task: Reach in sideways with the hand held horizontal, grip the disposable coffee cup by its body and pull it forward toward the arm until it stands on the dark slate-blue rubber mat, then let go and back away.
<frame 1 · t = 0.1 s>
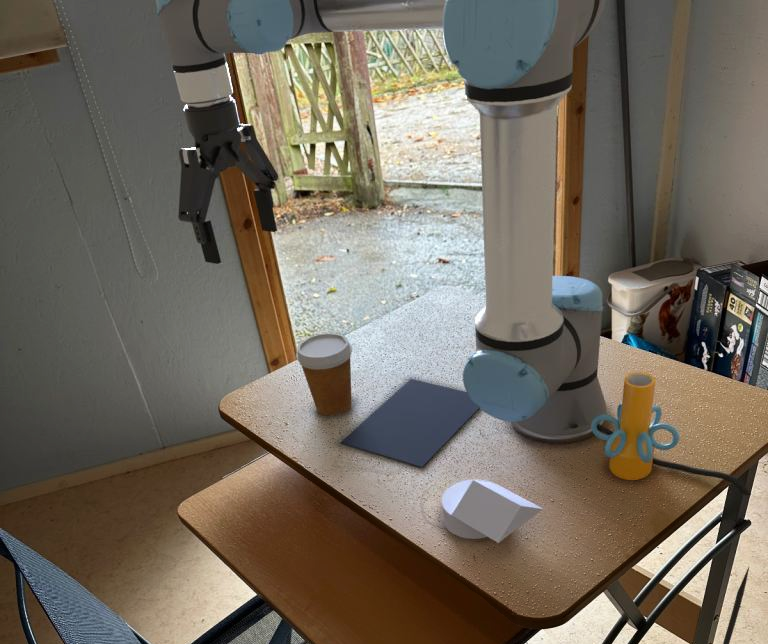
hand: (242, 246, 125), 28 cm above the table, tool pointing down, fingers open, 13 cm apart
wedge on round base: (485, 524, 108), on the table
mat: (416, 420, 130), on the table
yellow tube with rings: (629, 469, 114), on the table
disposable coffee cup: (334, 406, 137), on the table
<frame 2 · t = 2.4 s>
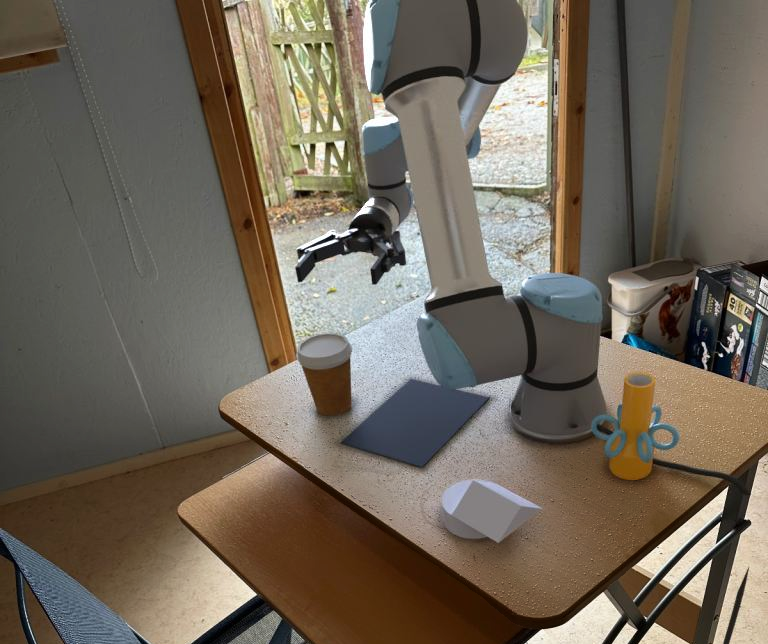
hand: (335, 275, 131), 20 cm above the table, tool horizontal, fingers open, 13 cm apart
nothing on the table moved.
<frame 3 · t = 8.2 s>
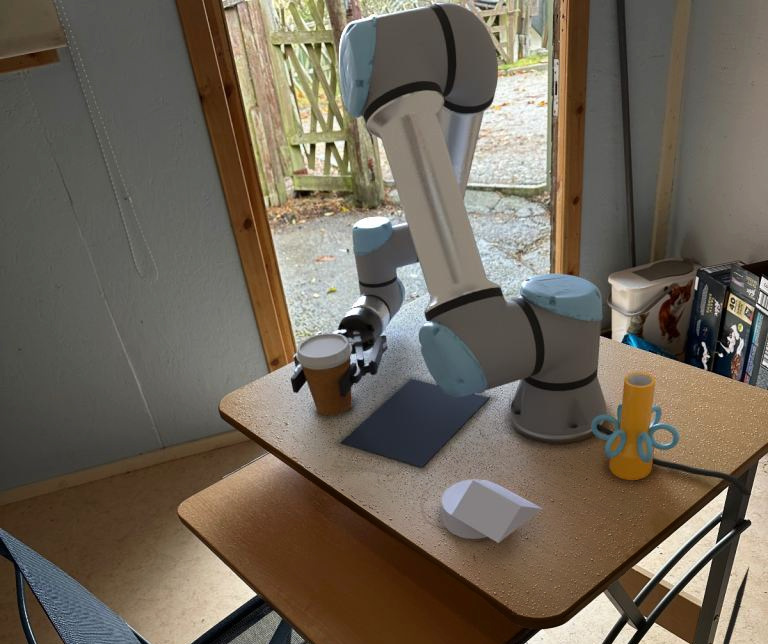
hand: (317, 387, 130), 7 cm above the table, tool horizontal, fingers closed on disposable coffee cup, 8 cm apart
disposable coffee cup: (334, 406, 137), on the table, touching gripper
everything else where it was.
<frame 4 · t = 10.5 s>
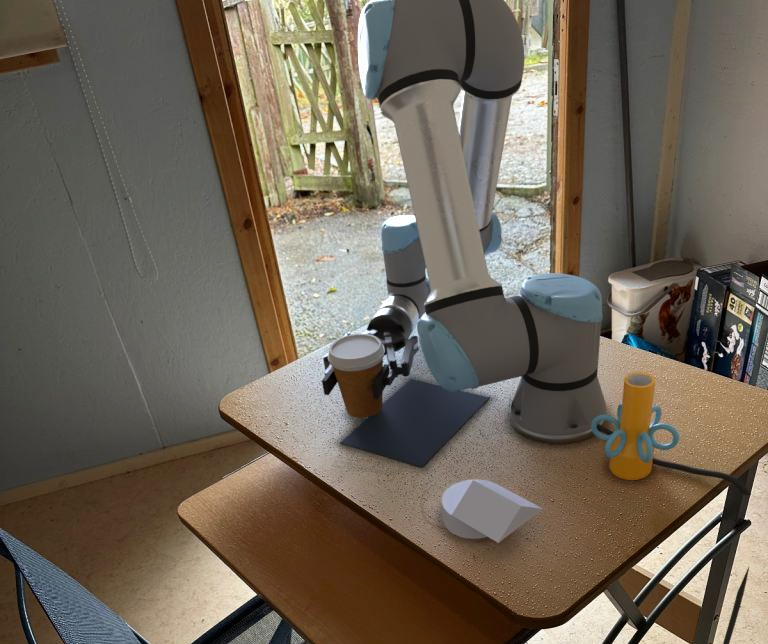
hand: (349, 389, 126), 7 cm above the table, tool horizontal, fingers closed on disposable coffee cup, 8 cm apart
disposable coffee cup: (364, 409, 134), on the table, touching gripper
everything else where it was.
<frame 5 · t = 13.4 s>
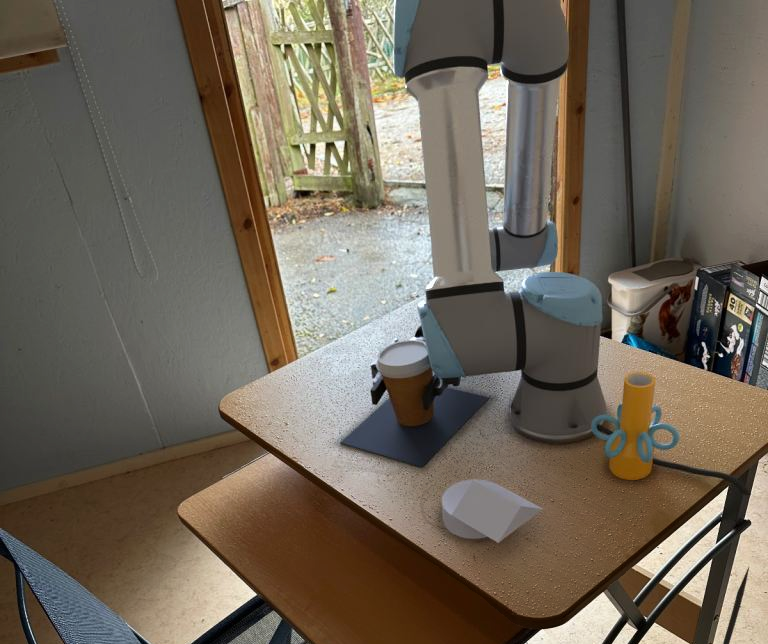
hand: (399, 400, 123), 7 cm above the table, tool horizontal, fingers closed on disposable coffee cup, 8 cm apart
disposable coffee cup: (415, 417, 131), resting on mat, touching arm, gripper
everything else where it was.
when the fingers open (7 cm above the table, at t = 13.5 s): disposable coffee cup moves 3 cm, resting on mat.
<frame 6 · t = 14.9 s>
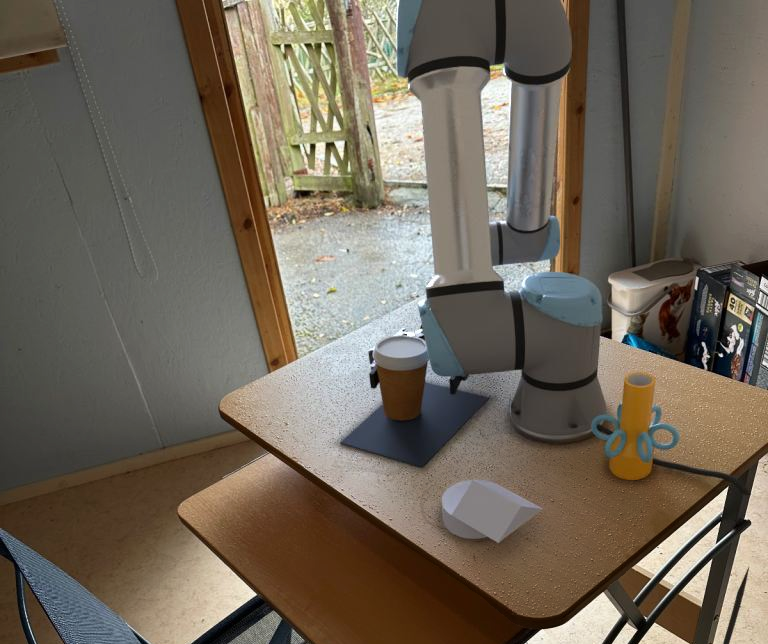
hand: (411, 384, 125), 7 cm above the table, tool horizontal, fingers open, 13 cm apart
disposable coffee cup: (402, 412, 132), resting on mat, touching gripper
everything else where it was.
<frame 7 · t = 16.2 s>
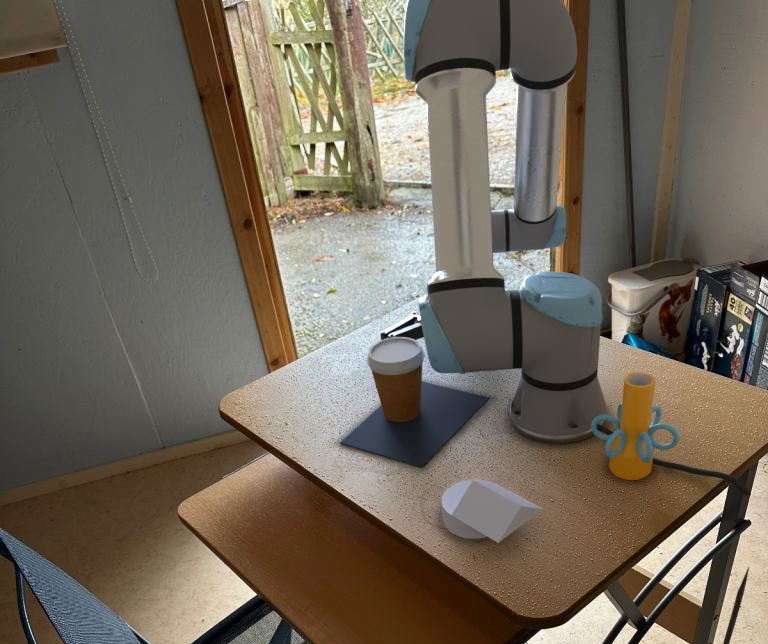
hand: (422, 364, 130), 7 cm above the table, tool horizontal, fingers open, 13 cm apart
disposable coffee cup: (402, 413, 133), resting on mat
everything else where it was.
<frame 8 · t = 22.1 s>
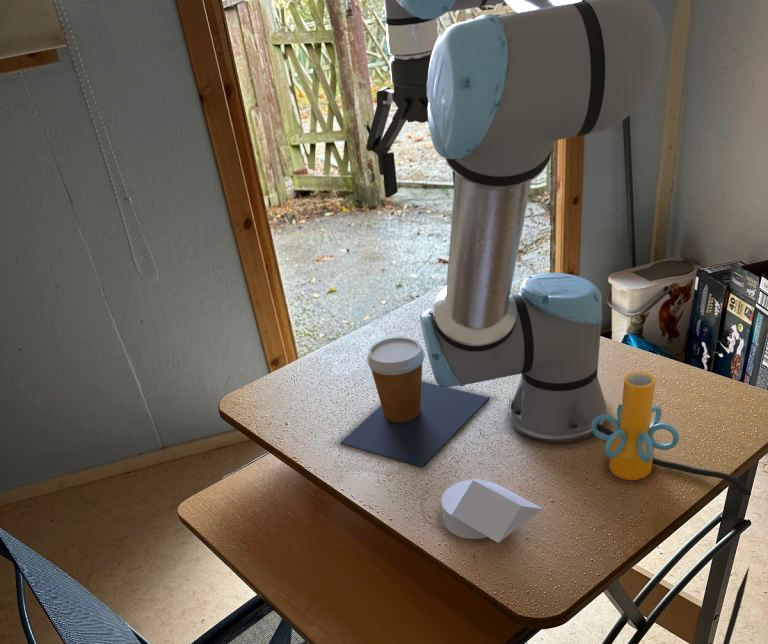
hand: (425, 198, 130), 29 cm above the table, tool pointing down, fingers open, 13 cm apart
nothing on the table moved.
at the end: disposable coffee cup inside the target area on the mat (3.5 cm from its centre), point 0.1 cm above the mat's base; disposable coffee cup tilted 0°; the gripper is holding nothing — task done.
